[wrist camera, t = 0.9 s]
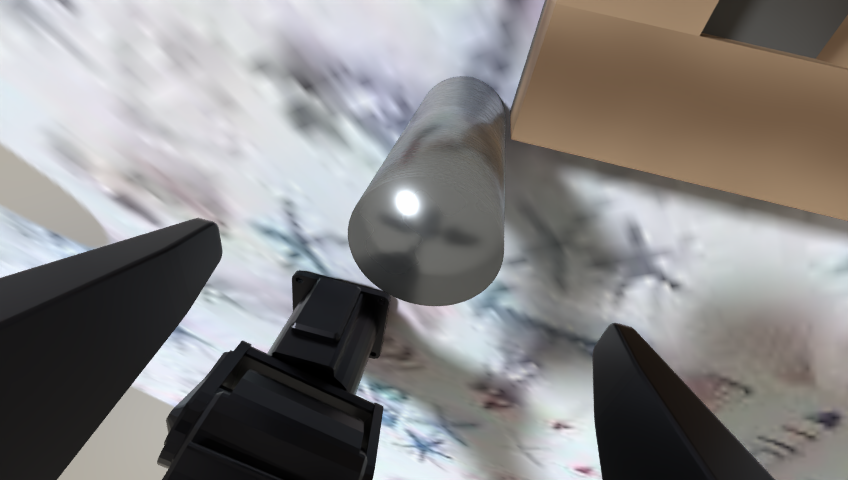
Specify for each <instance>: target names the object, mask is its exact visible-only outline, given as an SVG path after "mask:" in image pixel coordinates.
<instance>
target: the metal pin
mask: <svg viewBox="0 0 848 480" xmlns="http://www.w3.org/2000/svg"><path fill="white" fill-rule="evenodd" d="M504 204H505V111H504V107H503V104H502V102H501V100H500V98H499V96H498V95H497V93H496V92H495V91H494V90H493V89H492V88H491V87H490V86H489V85H487V84H486V83H484V82H483V81H480V80H478V79H475V78H472V77H464V76H459V77H453V78H449V79H446V80H444V81H442V82H440V83H438V84H437V85H436V86H434V87H433V88H432V89H431V90H430V91H429V93H428V94H427V95H426V97H425V98H424V100H423V101H422V103H421V104H420V106H419V108H418V109H417V111H416V112H415V114H414V115H413V117H412V119H411V120H410V122H409V123H408V125H407V126H406V128H405V130H404V131H403V133H402V134H401V136H400V137H399V139H398V141H397V142H396V144H395V145H394V147H393V148H392V150H391V152H390V153H389V155H388V156H387V158H386V159H385V161H384V163H383V164H382V166H381V167H380V169H379V170H378V172H377V174H376V175H375V177H374V178H373V180H372V181H371V183H370V185H369V186H368V188H367V189H366V191H365V192H364V194H363V195H362V197H361V199H360V200H359V202H358V203H357V205H356V207H355V208H354V210H353V212H352V215H351V218H350V221H349V226H348V241H349V247H350V250H351V253H352V256H353V258H354V260H355V262H356V264H357V265H358V267H359V268H360V270H361V271H362V272H363V273H364V275H365V276H366V277H367V278H368V279H369V280H370V281H371V282H372V283H373V284H375V285H376V286H377V287H378V288H380V289H381V290H383V291H384V292H386V293H388V294H390V295H392V296H394V297H396V298H398V299H401V300H403V301H406V302H410V303H414V304H418V305H426V306H446V305H452V304H457V303H460V302H464V301H466V300H469V299H471V298H473V297H475V296H476V295H478V294H480V293H481V292H482V291H484V290H485V289H486V288H487V287H488V286H489V285H490V284H491V283H492V282H493V280H494V279H495V278H496V276H497V274H498V272H499V270H500V268H501V265H502V262H503V256H504Z"/></svg>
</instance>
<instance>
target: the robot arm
mask: <svg viewBox="0 0 848 480" xmlns="http://www.w3.org/2000/svg"><path fill="white" fill-rule="evenodd" d="M221 257H222V245H221V239H220V233H219V228H218V225H217V224H216V223H215V222H213V221H209V220H205V219H200V218H196V219H192V220H189V221H185V222H182V223H179V224H176V225H172V226H169V227H166V228H163V229H159V230H156V231H153V232H149V233H146V234H143V235H140V236H136V237H133V238H130V239H126V240H123V241H120V242H117V243H113V244H110V245H107V246H103V247H100V248H97V249H94V250H90V251H87V252H84V253H81V254H77V255H74V256H71V257H67V258H64V259H61V260H58V261H54V262H51V263H48V264H44V265H41V266H38V267H35V268H31V269H28V270H25V271H21V272H18V273H15V274H12V275H8V276H5V277H2V278H0V480H57V479H58V477H59V476H60V475H61V474H62V472H63V471H64V470H65V469H66V467H67V466H68V465H69V464H70V462H71V461H72V460H73V458H74V457H75V456H76V455H77V453H78V452H79V451H80V450H81V448H82V447H83V446H84V444H85V443H86V442H87V441H88V439H89V438H90V437H91V435H92V434H93V433H94V432H95V430H96V429H97V428H98V427H99V425H100V424H101V423H102V421H103V420H104V419H105V418H106V416H107V415H108V414H109V412H110V411H111V410H112V409H113V407H114V406H115V405H116V403H117V402H118V401H119V400H120V399H121V397H122V396H123V395H124V393H125V392H126V391H127V390H128V388H129V387H130V386H131V385H132V383H133V382H134V381H135V379H136V378H137V377H138V376H139V374H140V373H141V372H142V371H143V369H144V368H145V367H146V365H147V364H148V363H149V362H150V360H151V359H152V358H153V357H154V355H155V354H156V353H157V351H158V350H159V349H160V348H161V346H162V345H163V344H164V342H165V341H166V340H167V339H168V337H169V336H170V335H171V334H172V332H173V331H174V330H175V328H176V327H177V326H178V325H179V323H180V322H181V321H182V319H183V318H184V317H185V315H186V314H187V312H188V311H189V309H190V308H191V306H192V305H193V303H194V302H195V300H196V299H197V297H198V295H199V294H200V292H201V290H202V289H203V287H204V286H205V284H206V282H207V281H208V279H209V278H210V276H211V274H212V273H213V271H214V270H215V268H216V266H217V265H218V263H219V262H220V260H221ZM300 278H301V279H300ZM292 293H293V313H292V315H291V316H290V318H289V319H288V321H287V323H286V324H285V326H284V327H283V329H282V331H281V332H280V334H279V335H278V337H277V339H276V340H275V342H274V343H273V345H272V347H271V348H270V350H269V352H268V353H267V354H266V353H264V352H262V351H260V350H258V349H256V348H254V347H251V344H249V343H247V342H245V341H241V343H240V344H239V345H238V346H237V348H236V349H235V350H234V351H231V350H230V352H224V353H223V355H222V356H221V357H220V359H219V360H218V361H217V363H216V364H215V365H214V367H213V368H212V369H211V371H210V372H209V373H208V375H207V376H206V377H205V378H204V379H203V380H202V381H201V382H200V383H199V384H198V385H197V386H196V387H195V388H194V389H193V390H192V391H191V392H190V393H189V394H188V395H187V396H186V397H185V398H184V399H183V400H182V401H181V402H180V403H179V404H178V405H177V406H176V407H174V409H173V410H172V411H171V412H170V414H169V416H168V418H167V420H166V422H167V428H168V436H167V438H166V440H165V442H164V445H165V446H164V448H163V450H162V451H161V454H160V456H159V458H158V461H157V464H158V465H161V466H163V467H166V468H168V471H167V472H166V474H165V476H164V478H163V479H162V480H372V479H373V475H374V470H375V463H376V456H377V449H378V442H379V435H380V428H381V421H382V414H383V406H382V405H379V404H377V403H374V404H373V403H371V402H369V401H367V400H365V399H363V398H361V397H358V396H356V392H357V389H358V386H359V383H360V381H361V378H362V375H363V372H364V369H365V367H366V364H367V361H368V358H369V357H370V358H374V359H375V358H378V357H379V356H380V353H381V349H382V343H383V338H384V332H385V327H386V321H387V316H388V310H389V305H390V296H389V295H388V294H387V293H385V292H382V291H378V290H374V289H370V288H366V287H362V286H359V285H355V284H351V283H347V282H343V281H339V280H335V279H332V278H328V277H324V276H320V275H316V274H312V273H308V272H305V271H296V272H295V274H294V275H293V276H292ZM381 299H383V300H381ZM593 393H594V420H595V429H596V437H597V444H598V451H599V458H600V465H601V472H602V479H603V480H775V479H774V478H773V477H772V476H771V475H770V474H769V473H768V472H767V471H766V470H765V469H764V467H763V466H762V465H761V464H760V463H759V462H758V461H757V460H756V459H755V458H754V457H753V456H752V455H751V454H750V453H749V451H748V450H747V449H746V448H745V447H744V446H743V445H742V444H741V443H740V442H739V441H738V440H737V439H736V438H735V436H734V435H733V434H732V433H731V432H730V431H729V430H728V429H727V428H726V427H725V426H724V425H723V424H722V423H721V421H720V420H719V419H718V418H717V417H716V416H715V415H714V414H713V413H712V412H711V411H710V410H709V409H708V408H707V406H706V405H705V404H704V403H703V402H702V401H701V400H700V399H699V398H698V397H697V396H696V395H695V394H694V393H693V392H692V390H691V389H690V388H689V387H688V386H687V385H686V384H685V383H684V382H683V381H682V380H681V379H680V378H679V377H678V375H677V374H676V373H675V372H674V371H673V370H672V369H671V368H670V367H669V366H668V365H667V364H666V363H665V362H664V360H663V359H662V358H661V357H660V356H659V355H658V354H657V353H656V352H655V351H654V350H653V349H652V348H651V347H650V345H649V344H648V343H647V342H646V341H645V340H644V339H643V338H642V337H641V336H640V335H639V334H638V333H637V332H636V331H635V330H634V329H633V328H632V327H629V326H626V325H622V324H618V323H612V324H610V325H609V326H608V328H607V329H606V331H605V332H604V333H603V335H602V336H601V338H600V339H599V341H598V342H597V344H596V345H595V347H594V350H593Z"/></svg>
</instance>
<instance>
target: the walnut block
mask: <svg viewBox="0 0 848 480" xmlns="http://www.w3.org/2000/svg"><path fill="white" fill-rule="evenodd" d="M510 126H511V140H516V141H520V142H524V143H528V144H532V145H536V146H540V147H545V148H549V149H553V150H557V151H561V152H565V153H569V154H573V155H578V156H582V157H586V158H590V159H594V160H598V161H602V162H606V163H611V164H615V165H619V166H623V167H627V168H631V169H635V170H640V171H644V172H648V173H652V174H656V175H660V176H664V177H668V178H673V179H677V180H681V181H685V182H689V183H693V184H697V185H701V186H706V187H710V188H714V189H718V190H722V191H726V192H730V193H735V194H739V195H743V196H747V197H751V198H755V199H759V200H763V201H768V202H772V203H776V204H780V205H784V206H788V207H792V208H796V209H801V210H805V211H809V212H813V213H817V214H821V215H825V216H830V217H834V218H838V219H842V220H846V221H848V0H545V2H544V6H543V9H542V12H541V15H540V18H539V21H538V25H537V28H536V31H535V34H534V37H533V40H532V44H531V47H530V50H529V53H528V56H527V60H526V63H525V66H524V69H523V72H522V75H521V79H520V82H519V85H518V88H517V91H516V94H515V98H514V101H513V104H512V107H511V110H510Z"/></svg>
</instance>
